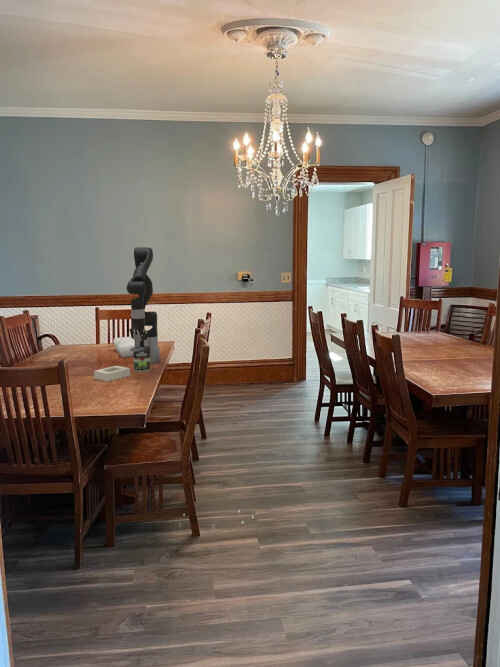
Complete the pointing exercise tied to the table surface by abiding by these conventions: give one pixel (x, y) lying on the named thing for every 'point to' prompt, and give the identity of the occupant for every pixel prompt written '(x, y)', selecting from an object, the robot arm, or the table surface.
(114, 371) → the well block
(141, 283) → the robot arm
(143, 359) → the coffee can
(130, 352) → the wavy white extrusion
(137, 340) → the grey rectangular block
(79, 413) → the table surface
